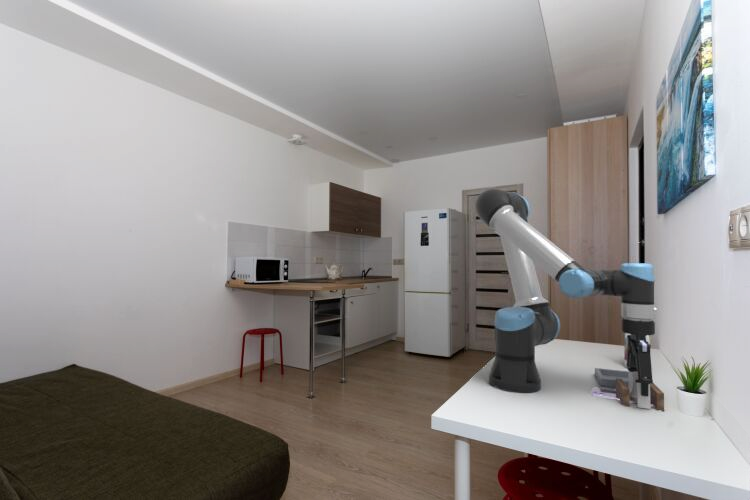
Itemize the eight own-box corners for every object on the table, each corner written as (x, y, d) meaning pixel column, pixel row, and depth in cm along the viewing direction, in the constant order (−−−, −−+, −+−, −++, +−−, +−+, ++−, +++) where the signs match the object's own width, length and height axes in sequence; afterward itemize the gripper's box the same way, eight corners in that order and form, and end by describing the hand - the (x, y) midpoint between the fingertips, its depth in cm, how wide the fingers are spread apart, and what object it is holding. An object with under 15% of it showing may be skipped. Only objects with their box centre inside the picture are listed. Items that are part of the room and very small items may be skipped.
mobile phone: (654, 404, 100) (590, 392, 109) (655, 408, 100) (590, 396, 108) (654, 396, 106) (592, 385, 115) (654, 399, 106) (592, 389, 115)
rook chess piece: (651, 405, 101) (651, 375, 101) (633, 404, 101) (632, 374, 102) (643, 399, 105) (643, 371, 105) (625, 398, 106) (625, 369, 106)
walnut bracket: (623, 405, 100) (622, 388, 101) (615, 393, 110) (615, 378, 110) (664, 411, 97) (664, 393, 97) (653, 398, 106) (652, 382, 106)
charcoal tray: (600, 386, 116) (600, 378, 116) (594, 375, 128) (594, 367, 128) (651, 392, 111) (651, 384, 111) (640, 380, 123) (640, 372, 123)
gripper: (667, 325, 92) (668, 418, 92) (643, 315, 113) (644, 391, 112) (630, 323, 95) (632, 413, 95) (614, 313, 115) (615, 387, 115)
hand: (639, 401), depth 103 cm, fingers open, 9 cm apart
